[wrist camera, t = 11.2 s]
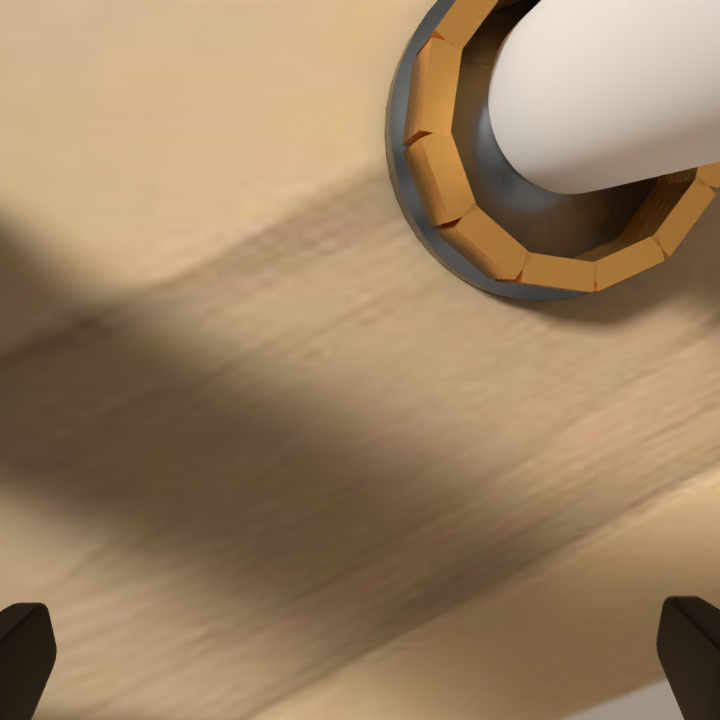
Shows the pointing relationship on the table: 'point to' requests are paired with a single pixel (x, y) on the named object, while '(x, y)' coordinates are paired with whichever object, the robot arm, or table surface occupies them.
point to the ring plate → (512, 176)
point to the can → (608, 91)
